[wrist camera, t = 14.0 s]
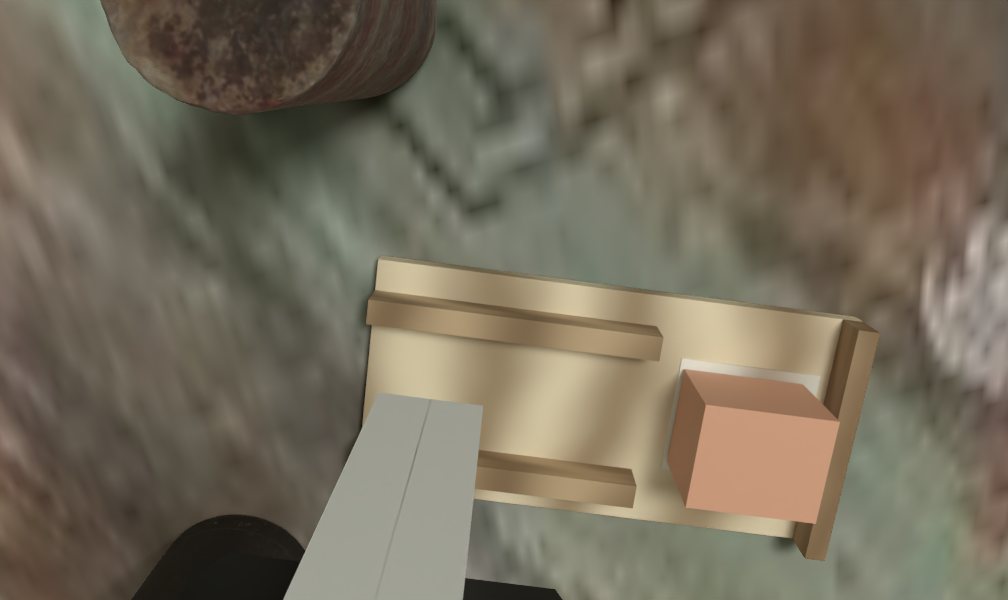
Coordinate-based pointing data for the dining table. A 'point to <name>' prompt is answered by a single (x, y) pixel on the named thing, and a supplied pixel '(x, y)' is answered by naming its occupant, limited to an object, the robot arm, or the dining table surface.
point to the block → (751, 446)
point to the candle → (273, 49)
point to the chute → (601, 382)
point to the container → (215, 552)
